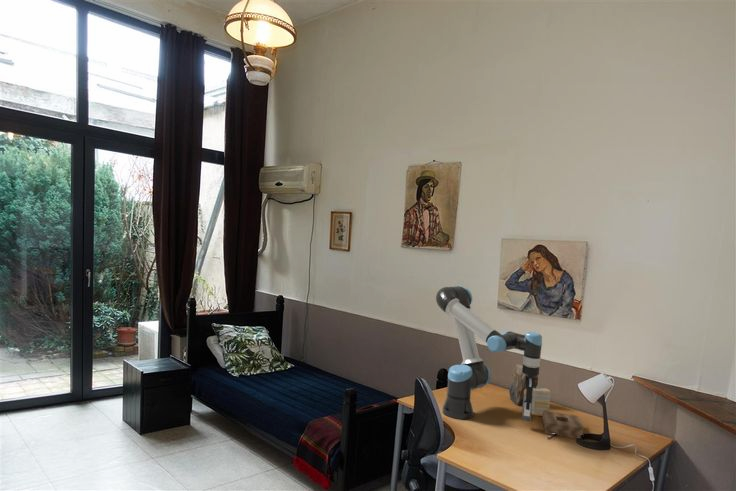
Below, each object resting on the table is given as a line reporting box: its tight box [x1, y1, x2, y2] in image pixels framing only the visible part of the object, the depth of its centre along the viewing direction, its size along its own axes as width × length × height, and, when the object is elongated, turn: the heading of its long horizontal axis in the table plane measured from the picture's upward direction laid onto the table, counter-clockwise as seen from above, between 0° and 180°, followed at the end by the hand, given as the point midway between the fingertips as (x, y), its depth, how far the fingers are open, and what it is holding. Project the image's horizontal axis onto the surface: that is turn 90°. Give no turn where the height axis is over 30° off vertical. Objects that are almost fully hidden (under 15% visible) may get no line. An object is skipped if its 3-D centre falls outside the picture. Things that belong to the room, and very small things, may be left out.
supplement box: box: [531, 387, 551, 417], centre depth 235 cm, size 8×5×13 cm, turn 84°
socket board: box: [542, 410, 584, 439], centre depth 217 cm, size 16×16×5 cm
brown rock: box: [508, 363, 539, 407], centre depth 252 cm, size 13×13×20 cm
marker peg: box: [521, 389, 533, 422], centre depth 216 cm, size 4×4×14 cm
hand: (526, 413), depth 216 cm, fingers closed on marker peg, 4 cm apart
